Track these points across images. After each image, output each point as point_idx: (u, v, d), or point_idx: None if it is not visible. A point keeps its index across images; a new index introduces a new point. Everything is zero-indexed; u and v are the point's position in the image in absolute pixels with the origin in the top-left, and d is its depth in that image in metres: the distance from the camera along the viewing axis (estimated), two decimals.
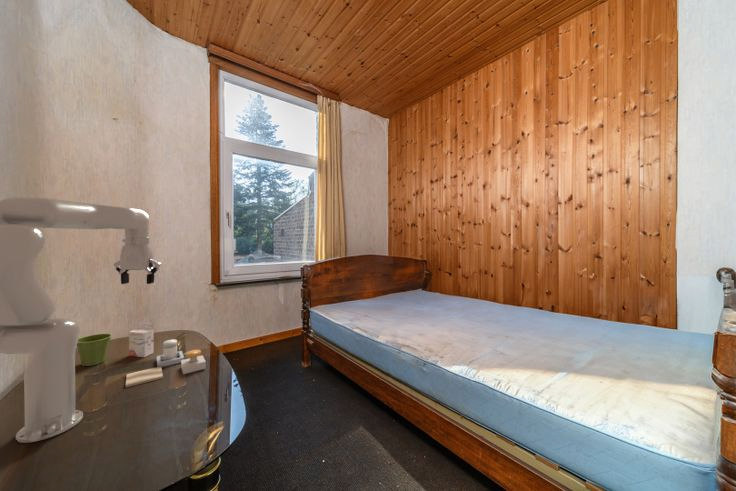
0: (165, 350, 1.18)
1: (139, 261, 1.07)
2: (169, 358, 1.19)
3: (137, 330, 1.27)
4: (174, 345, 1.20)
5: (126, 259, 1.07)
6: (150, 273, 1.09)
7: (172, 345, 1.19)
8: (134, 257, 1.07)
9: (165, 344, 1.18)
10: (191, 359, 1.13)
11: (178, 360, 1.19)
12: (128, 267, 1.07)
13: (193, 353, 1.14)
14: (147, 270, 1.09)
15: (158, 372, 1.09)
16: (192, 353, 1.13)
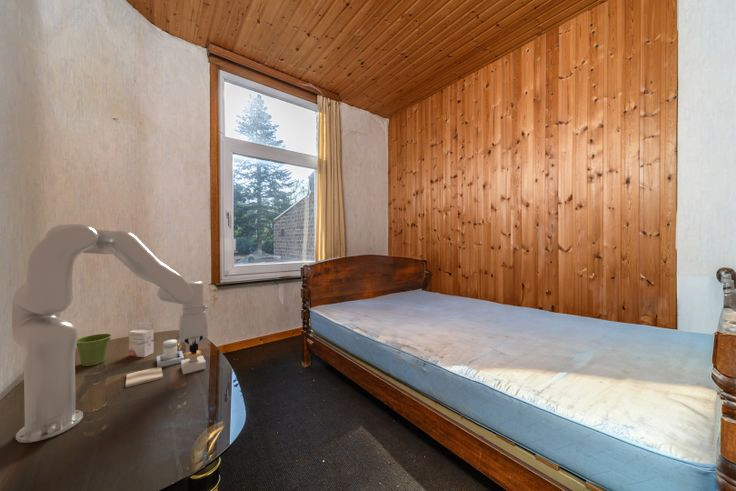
0: (165, 350, 1.18)
1: None
2: (169, 358, 1.19)
3: (137, 330, 1.27)
4: (174, 345, 1.20)
5: None
6: None
7: (172, 345, 1.19)
8: None
9: (165, 344, 1.18)
10: (191, 360, 1.13)
11: (178, 360, 1.19)
12: None
13: (193, 354, 1.14)
14: None
15: (158, 372, 1.09)
16: (192, 354, 1.14)
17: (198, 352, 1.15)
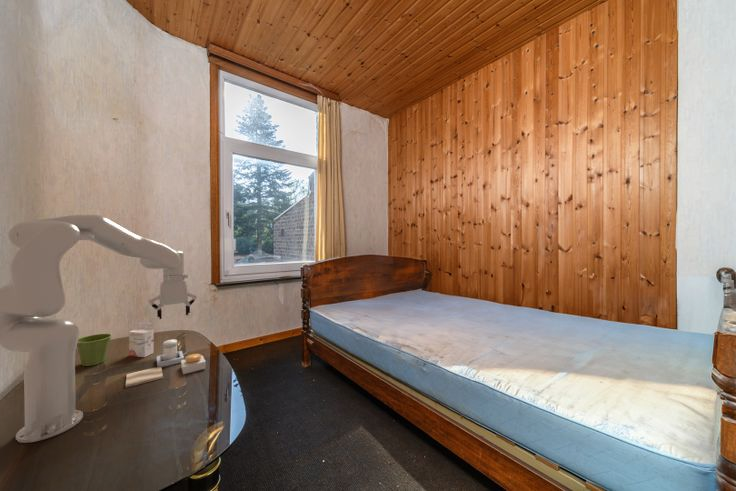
0: (165, 350, 1.18)
1: None
2: (169, 358, 1.19)
3: (137, 330, 1.27)
4: (174, 345, 1.20)
5: None
6: None
7: (172, 345, 1.19)
8: None
9: (165, 344, 1.18)
10: None
11: (178, 360, 1.19)
12: None
13: (193, 357, 1.14)
14: None
15: (158, 372, 1.09)
16: (192, 357, 1.14)
17: (198, 355, 1.15)
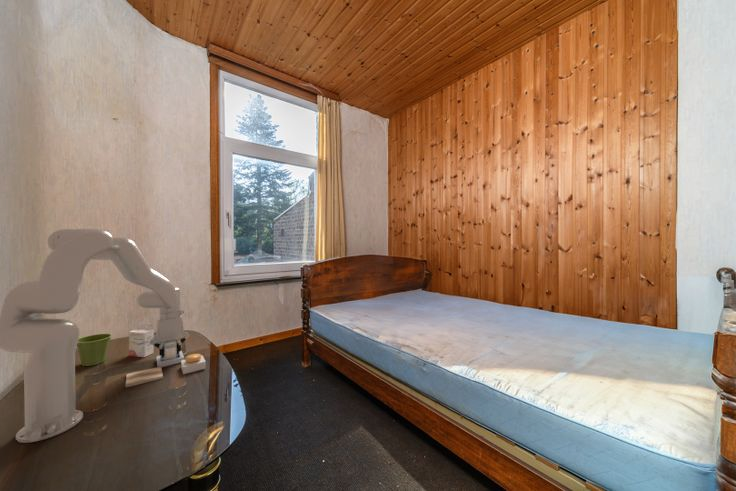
0: (165, 350, 1.18)
1: None
2: (169, 358, 1.19)
3: (137, 330, 1.27)
4: (174, 345, 1.20)
5: None
6: None
7: (172, 345, 1.19)
8: None
9: (165, 344, 1.18)
10: None
11: (178, 360, 1.19)
12: None
13: (193, 357, 1.14)
14: None
15: (158, 372, 1.09)
16: (192, 357, 1.14)
17: (198, 355, 1.15)
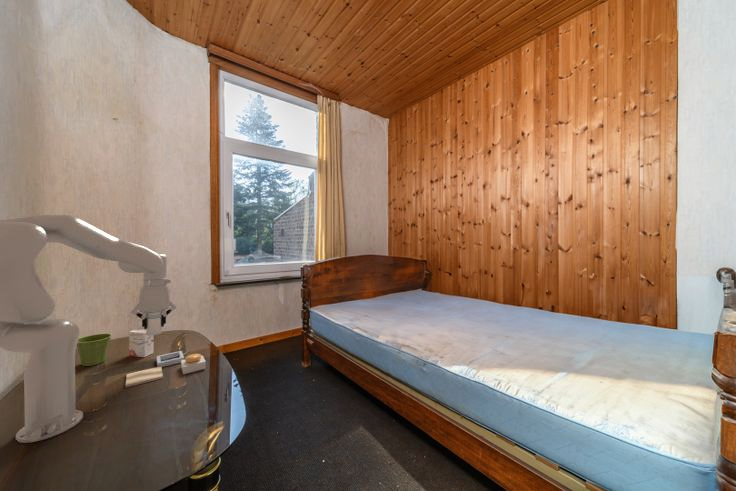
0: (148, 321, 1.09)
1: None
2: (152, 330, 1.09)
3: (137, 330, 1.27)
4: (159, 316, 1.11)
5: None
6: None
7: (156, 315, 1.10)
8: None
9: (148, 314, 1.09)
10: None
11: (178, 360, 1.19)
12: None
13: (193, 357, 1.14)
14: None
15: (158, 372, 1.09)
16: (192, 357, 1.14)
17: (198, 355, 1.15)
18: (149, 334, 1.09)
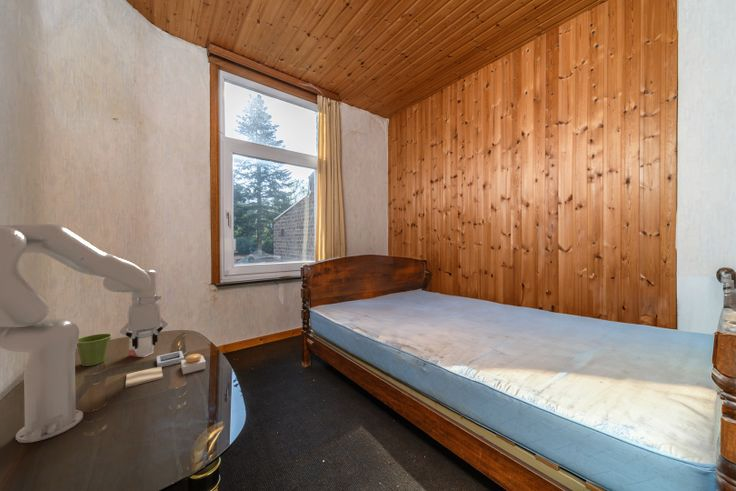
0: (138, 340, 1.04)
1: None
2: (143, 349, 1.05)
3: None
4: (150, 335, 1.06)
5: None
6: None
7: (146, 334, 1.05)
8: None
9: (138, 333, 1.04)
10: None
11: (178, 360, 1.19)
12: None
13: (193, 357, 1.14)
14: None
15: (158, 372, 1.09)
16: (192, 357, 1.14)
17: (198, 355, 1.15)
18: (140, 354, 1.04)
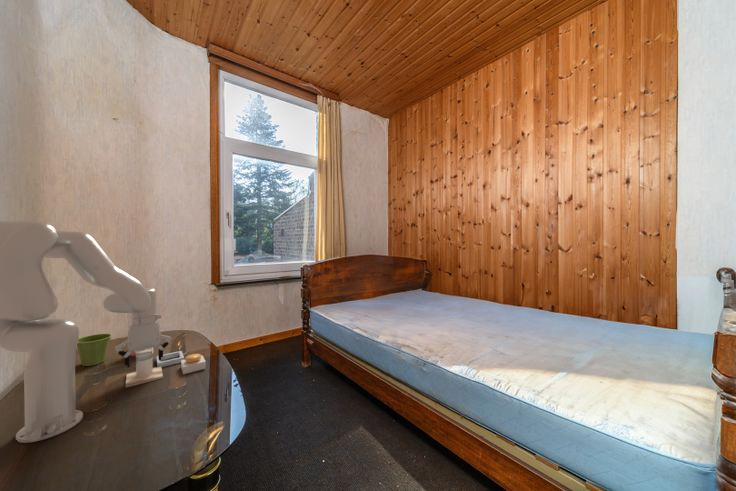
0: (138, 363, 1.04)
1: None
2: (142, 372, 1.04)
3: None
4: (149, 357, 1.06)
5: None
6: None
7: (145, 357, 1.05)
8: None
9: (138, 356, 1.04)
10: None
11: (178, 360, 1.19)
12: None
13: (193, 357, 1.14)
14: None
15: (158, 372, 1.09)
16: (192, 357, 1.14)
17: (198, 355, 1.15)
18: (139, 377, 1.04)
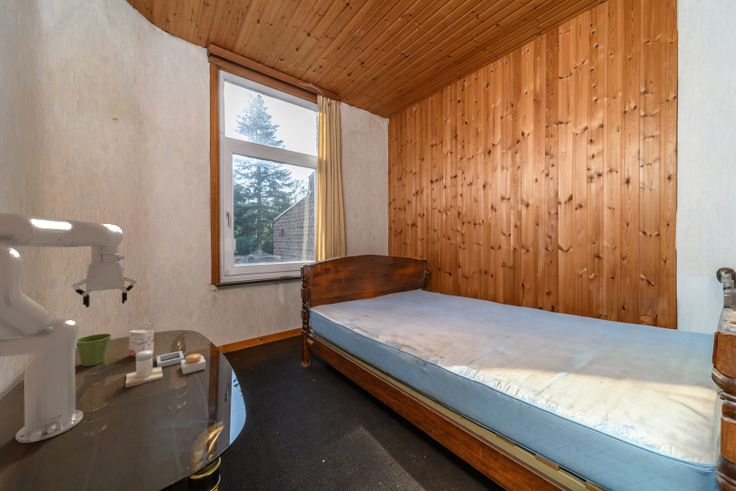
0: (138, 363, 1.04)
1: None
2: (143, 372, 1.04)
3: (137, 330, 1.27)
4: (149, 357, 1.06)
5: None
6: None
7: (146, 357, 1.05)
8: None
9: (138, 356, 1.04)
10: None
11: (178, 360, 1.19)
12: None
13: (193, 357, 1.14)
14: None
15: (158, 372, 1.09)
16: (192, 357, 1.14)
17: (198, 355, 1.15)
18: (139, 377, 1.04)
